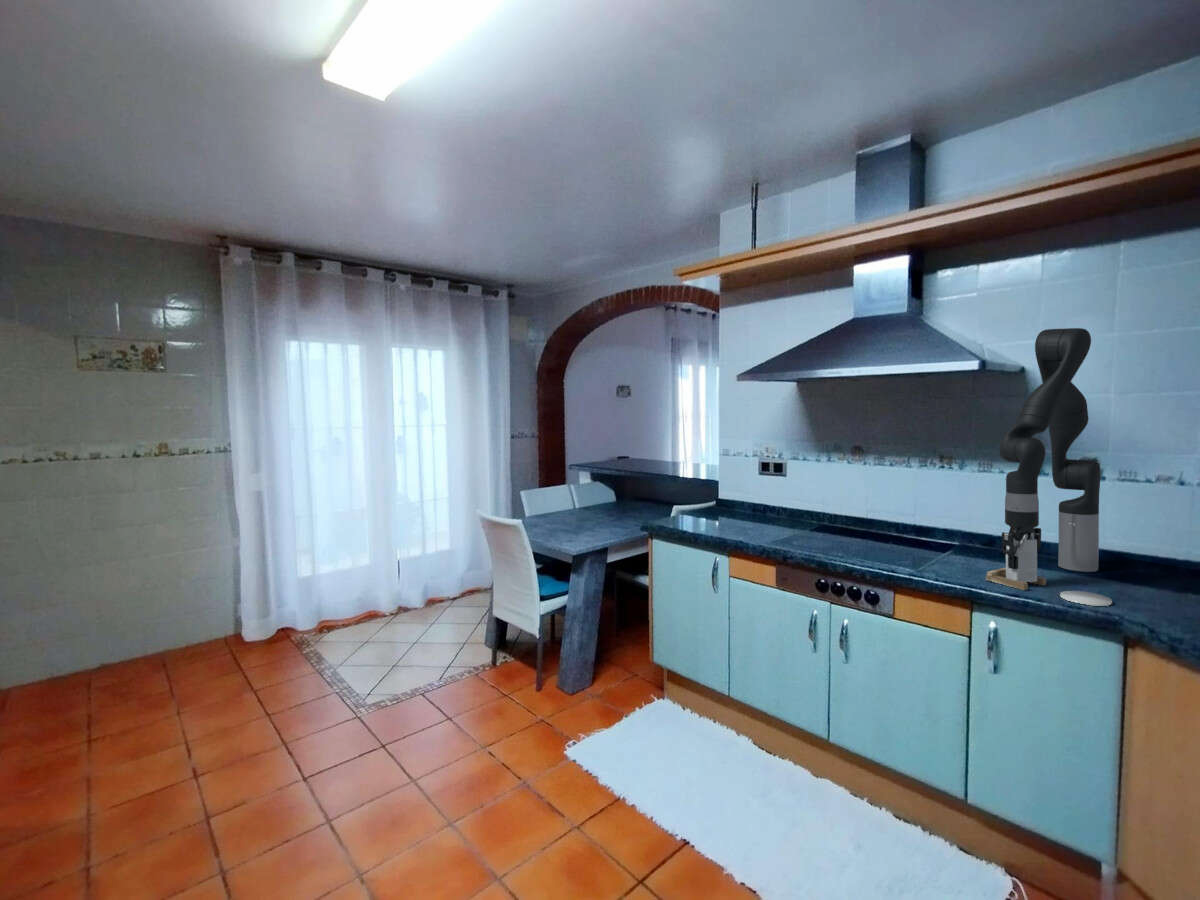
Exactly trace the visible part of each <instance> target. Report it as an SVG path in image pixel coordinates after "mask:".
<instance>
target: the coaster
mask: <svg viewBox="0 0 1200 900" xmlns="http://www.w3.org/2000/svg"><path fill="white" fill-rule="evenodd" d="M1059 597H1061V598H1063V599H1065V600H1067V601H1071V602H1075V603H1080V604H1086V605H1091V606H1090V607H1092V606H1107V607H1110V606H1109V605H1111V604H1112V605H1113V600H1112V599H1111V597H1108V596H1105V595H1103V594H1099V593H1094V592H1089V591H1088V592H1087V591H1082V590H1081V591H1080V590H1066V591H1060V593H1059ZM1061 598H1060V599H1061ZM1063 599H1062V600H1063ZM1065 600H1064V601H1065ZM1067 601H1066V602H1067ZM1112 605H1111V606H1112Z"/></svg>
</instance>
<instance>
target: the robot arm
mask: <svg viewBox="0 0 1200 900" xmlns="http://www.w3.org/2000/svg"><path fill="white" fill-rule="evenodd" d="M1091 343H1092V336H1091V333H1090V332H1089V331H1088V330H1087V329H1086V328H1082V327H1081V328H1080V327H1078V328H1077V327H1076V328H1075V327H1072V328H1071V327H1070V328H1068V327H1067V328H1049V329H1044V330H1041V331H1040V332H1039V333H1038V334H1037V336H1036V339H1035V343H1034V352H1035V358H1036V362H1037V367H1038V369H1039V374H1040V377H1041V384H1040V385H1039V386H1037V387H1036V388H1034V390H1033V391H1032V392H1031V393H1030V394H1029V395H1028V397H1026V399H1025V401H1024V403H1023V405H1022V408H1021V410H1020V413H1019V415H1018V418H1017V420H1016V422H1014V424H1013V425H1012V426H1011V427H1010V429H1009V430H1008V432H1007V433H1005V435H1004V437H1003V438H1002V439H1001V442H1000V445H999V455H1000V457H1001V458H1002V460H1004V461H1006V462H1010V463H1019V466H1018V468H1017V470H1013V471H1009V472H1008V473H1007V474H1006V478H1005V482H1006V483H1005V499H1004V523H1005V524H1006V525H1007V526H1009V530H1008V532H1004V531H1003V532H1001V554H1005V555H1006V554H1007V555H1008V567H1009V568H1011V569H1018V554H1019V551H1020V550H1021V549H1022V548H1023V546H1024V543H1025V540H1027V539H1036V540H1037V550H1040V549H1041V547H1042V528H1039V527H1038V526H1039V524H1040V521H1039V520H1040V510H1039V509H1040V508H1039V507H1040V503H1039V502H1040V500H1039V492H1038V491H1039V489H1038V487H1039V486H1038V485H1039V484H1038V478H1039V476H1040V474H1041V471H1042V467H1043V464H1044V461H1045V458H1046V448H1045V445H1044V443H1043V442H1042V440H1040V439H1038V438H1035V437H1033V436H1034V435H1036V434H1041V433H1044V432H1045V431H1046V430H1047V429H1048V432H1049V440H1050V448H1051V471H1052V472H1051V474H1052V481H1053V484H1054V487H1056V488H1057V489H1060V490H1072V491H1073V490H1074V491H1075V490H1076V491H1084V492H1083V494H1082V495H1080V496H1077V497H1076V498H1072V499H1066V500H1062V501H1059V504H1058V557H1057V558H1058V560H1057V561H1058V564H1057V565H1058V567H1060V568H1062V569H1065V570H1068V571H1076V572H1085V573H1086V572H1087V573H1089V572H1090V573H1091V572H1097V571H1099V557H1100V556H1099V555H1100V554H1099V553H1100V551H1099V550H1100V549H1099V548H1100V547H1099V546H1100V545H1099V543H1100V542H1099V541H1100V538H1099V537H1100V535H1099V534H1100V532H1099V531H1100V490H1101V487H1100V486H1101V476H1102V475H1101V474H1102V471H1101V465H1100V462H1098V461H1097V460H1095V459H1094V460H1093V459H1070V458H1067V452H1068V451H1069V449H1070V448H1071V446H1072V445H1073V443H1074V442H1075V440H1076V439H1078V437H1079V436H1080V435H1081V434H1082V432H1083V431H1084V430H1086V429H1085V428H1086V427H1087V425H1088V423H1089V410H1088V403H1087V399H1086V398H1085V396H1084V394H1083V393H1082V392H1081V390H1079V388H1078V387H1077V386H1076V385H1075V384H1074V383H1073V382H1072V380H1073V379H1074V377H1075V376H1076V374H1077V372H1078V371H1079V369H1080V367H1081V366H1082V364H1083V363H1084V361H1085V359H1086V357H1087V355H1088V354H1089V350H1090V348H1091ZM1014 540H1017V541H1020V543H1019V544H1018V545H1015V544H1014ZM1006 546H1008V548H1007V549H1006ZM1014 548H1016V549H1015V551H1014Z"/></svg>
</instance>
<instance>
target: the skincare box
mask: <svg viewBox="0 0 1200 900" xmlns="http://www.w3.org/2000/svg"><path fill="white" fill-rule="evenodd" d="M1019 543H1020V541H1017V540H1014V544H1015V545H1018V544H1019ZM1007 548H1008V546H1006V549H1007ZM1015 549H1016V548H1014V551H1015ZM1005 567H1006V578H1008V579H1012V580H1016V581H1021V582H1025V583H1027V582H1036V581H1037V576H1038V549H1037V540H1036V539H1027V540H1025V543H1024V546H1023V548H1022V549H1021V550H1020V551H1019V554H1018V569H1011V568H1009V567H1008V555H1007V554H1005Z"/></svg>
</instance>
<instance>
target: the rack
mask: <svg viewBox="0 0 1200 900" xmlns="http://www.w3.org/2000/svg"><path fill="white" fill-rule="evenodd" d="M986 580H988V581H992V582H995V583H999V584H1003V585H1006V586H1010V587H1014V588H1018V589H1021V590H1027V589H1028V588H1029V587H1028V584H1032V583H1034V584H1033V585H1036V584H1038V585H1037V586H1040V585H1042V586H1041V587H1044V586H1043V585H1045V586H1047V578H1046V577H1042V576H1038V575H1037V581H1036V582H1030V583H1027V582H1021V581H1016V580H1012V579H1008V578H1006V566H1005V567H1001V568H997V569H992V570H990V571H989V570H987V572H986V574H985V581H986ZM1021 590H1020V591H1021ZM1027 591H1028V590H1027Z"/></svg>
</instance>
